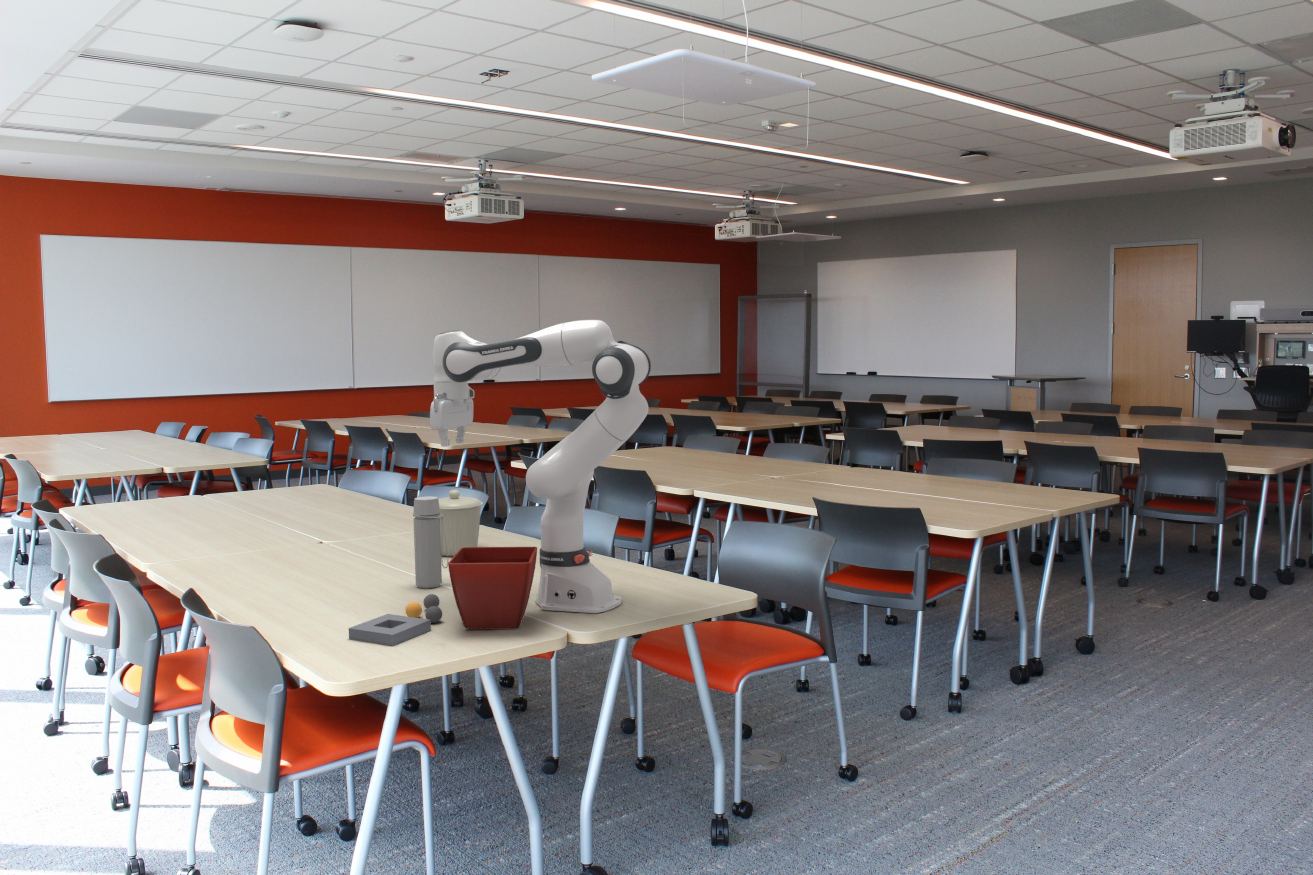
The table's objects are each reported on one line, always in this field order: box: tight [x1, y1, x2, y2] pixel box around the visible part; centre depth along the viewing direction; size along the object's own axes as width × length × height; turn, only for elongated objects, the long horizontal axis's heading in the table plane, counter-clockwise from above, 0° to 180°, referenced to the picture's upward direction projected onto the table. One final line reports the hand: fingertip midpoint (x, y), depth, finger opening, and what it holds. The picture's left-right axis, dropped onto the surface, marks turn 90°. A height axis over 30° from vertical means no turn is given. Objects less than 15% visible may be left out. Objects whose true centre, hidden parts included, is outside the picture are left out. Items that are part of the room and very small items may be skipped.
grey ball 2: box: [424, 606, 443, 624], centre depth 228 cm, size 4×4×4 cm
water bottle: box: [412, 496, 449, 590], centre depth 264 cm, size 9×8×25 cm
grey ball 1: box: [423, 593, 441, 610], centre depth 240 cm, size 4×4×4 cm
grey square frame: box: [348, 613, 432, 646], centre depth 219 cm, size 13×13×2 cm
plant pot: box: [447, 546, 538, 630], centre depth 227 cm, size 19×19×17 cm
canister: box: [438, 489, 484, 557], centre depth 307 cm, size 18×18×21 cm
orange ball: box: [404, 601, 423, 618], centre depth 232 cm, size 4×4×4 cm
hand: (452, 444), depth 250 cm, fingers open, 8 cm apart
